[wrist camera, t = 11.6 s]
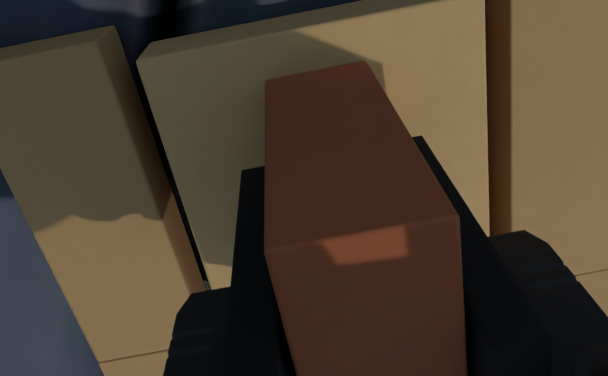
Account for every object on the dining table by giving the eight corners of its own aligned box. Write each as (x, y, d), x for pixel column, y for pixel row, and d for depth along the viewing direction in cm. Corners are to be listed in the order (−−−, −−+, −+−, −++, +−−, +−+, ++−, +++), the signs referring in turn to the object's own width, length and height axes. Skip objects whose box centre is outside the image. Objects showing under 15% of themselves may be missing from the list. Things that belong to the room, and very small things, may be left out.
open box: (225, 286, 18) (194, 589, 10) (148, 41, 14) (1, 225, 6) (471, 241, 17) (634, 517, 10) (460, -21, 14) (713, 90, 6)
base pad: (187, 483, 22) (181, 528, 21) (-16, 50, 14) (-52, 70, 12) (579, 415, 22) (603, 455, 20) (620, -80, 13) (668, -77, 12)
